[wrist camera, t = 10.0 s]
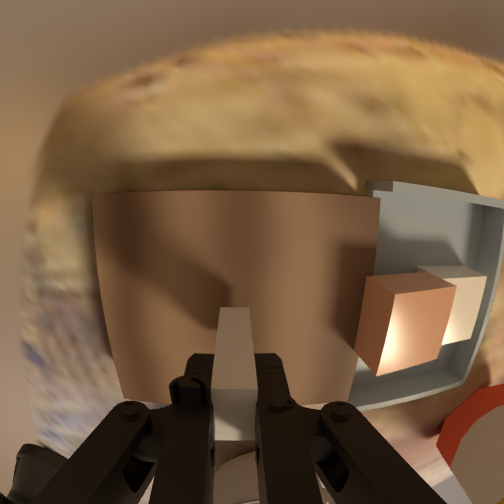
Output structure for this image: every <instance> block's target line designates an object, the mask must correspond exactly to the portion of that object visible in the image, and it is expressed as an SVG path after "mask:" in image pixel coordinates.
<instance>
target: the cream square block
mask: <svg viewBox="0 0 504 504" xmlns="http://www.w3.org/2000/svg"><path fill="white" fill-rule="evenodd" d="M417 272H428V273H430V274H433V275H435V276H437V277H439V278H441V279H443V280H445V281H447V282H450V283H452V284H454V285H456V286H457V288H456V292H455V297H454V301H453V305H452V309H451V313H450V317H449V321H448V324H447V328H446V331H445V335H444V338H443V341H442V344H441V345H444V344H449V343H453V342H458V341H462V340H466V339H470V338H471V335H472V332H473V329H474V325H475V322H476V319H477V315H478V312H479V308H480V304H481V300H482V296H483V292H484V288H485V283H486V279H487V276H486V275H484V274H481V273H479V272H477V271H475V270H473V269H471V268H468V267H466V266H464V265H441V266H417V268H416V273H417Z"/></svg>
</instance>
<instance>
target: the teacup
mask: <svg viewBox="0 0 504 504" xmlns="http://www.w3.org/2000/svg"><path fill="white" fill-rule="evenodd" d="M315 473H316V472H315ZM316 477H317V481H318V485H319V488H320V492H321V496H322V500H323V504H326V502H328V503H329V504H336V503H335V501H334V500H333V498H332V497H331V495H330V494H329V492H328V491H327V489H325V488H322V487H321V484H320V481H319V479H318V476H317V474H316ZM213 504H260V502H259V490H258V478H257V465H256V462H255V451H253V452H249V453H246V454H243V455H241V456H238V457H236V458H233V459H231V460H229V461H228V462H226V463H225V464H223V465H222V466H221V467H220V468H219V469H218V470H217V471H216V473H215V475H214V491H213Z"/></svg>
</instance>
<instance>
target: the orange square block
mask: <svg viewBox="0 0 504 504" xmlns="http://www.w3.org/2000/svg"><path fill="white" fill-rule="evenodd" d="M456 288H457V286H456V285H454V284H452V283H450V282H447V281H445V280H443V279H441V278H439V277H437V276H435V275H433V274H430V273H428V272H417V273H404V274H390V275H376V276H366V281H365V288H364V295H363V302H362V308H361V314H360V320H359V325H358V331H357V336H356V341H355V346H354V351H355V353H356V354H357V355H358V356H359V357H360V358H361V359H362V361H363V362H364V363H365V364H366V365H367V366H368V368H369V369H370V370H371V371H372V372H373V373H374V375H375V376H379V375H383V374H387V373H391V372H395V371H398V370H402V369H405V368H409V367H412V366H416V365H419V364H422V363H425V362H428V361H431V360H434V359H437V357H438V354H439V351H440V347H441V344H442V341H443V338H444V335H445V331H446V328H447V324H448V321H449V317H450V313H451V309H452V305H453V301H454V297H455V292H456Z"/></svg>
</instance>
